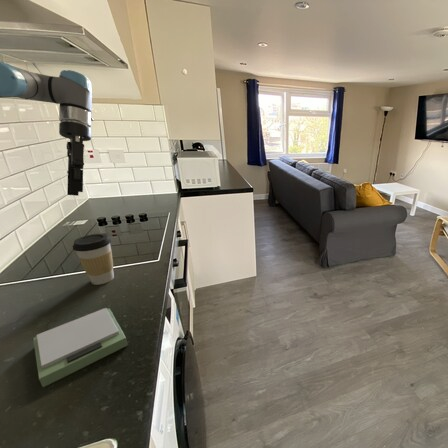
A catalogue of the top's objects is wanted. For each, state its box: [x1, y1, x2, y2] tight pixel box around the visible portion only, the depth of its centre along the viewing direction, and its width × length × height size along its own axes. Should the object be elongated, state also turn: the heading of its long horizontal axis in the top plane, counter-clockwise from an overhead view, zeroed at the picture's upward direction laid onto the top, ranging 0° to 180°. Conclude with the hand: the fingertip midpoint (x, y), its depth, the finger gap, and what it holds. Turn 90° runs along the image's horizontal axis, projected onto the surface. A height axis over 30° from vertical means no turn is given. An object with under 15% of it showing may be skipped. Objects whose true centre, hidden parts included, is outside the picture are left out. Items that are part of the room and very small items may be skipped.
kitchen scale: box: [32, 307, 129, 388], centre depth 61 cm, size 15×15×3 cm
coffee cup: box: [72, 233, 115, 286], centre depth 85 cm, size 10×10×15 cm
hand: (74, 193), depth 81 cm, fingers open, 13 cm apart
